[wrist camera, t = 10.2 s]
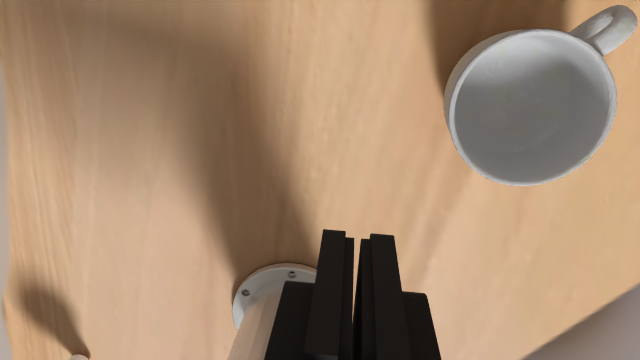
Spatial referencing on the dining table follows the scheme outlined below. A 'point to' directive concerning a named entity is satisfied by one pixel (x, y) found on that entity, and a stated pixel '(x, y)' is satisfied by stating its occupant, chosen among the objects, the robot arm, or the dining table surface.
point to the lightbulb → (78, 357)
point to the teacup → (536, 99)
